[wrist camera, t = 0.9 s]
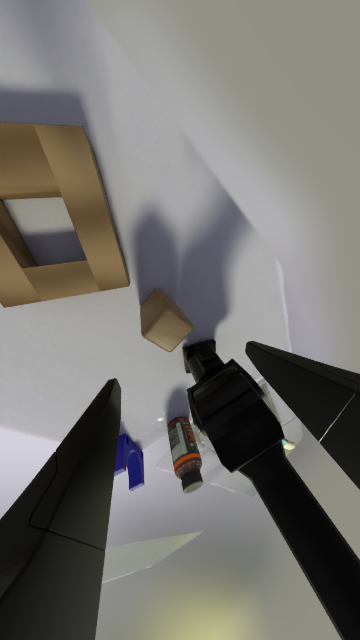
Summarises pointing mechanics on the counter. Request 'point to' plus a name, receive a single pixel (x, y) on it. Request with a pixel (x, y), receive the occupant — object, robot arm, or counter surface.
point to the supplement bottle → (185, 454)
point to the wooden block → (163, 321)
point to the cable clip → (130, 462)
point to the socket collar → (81, 202)
